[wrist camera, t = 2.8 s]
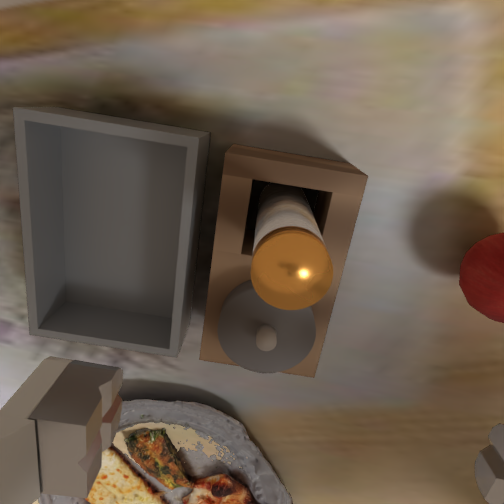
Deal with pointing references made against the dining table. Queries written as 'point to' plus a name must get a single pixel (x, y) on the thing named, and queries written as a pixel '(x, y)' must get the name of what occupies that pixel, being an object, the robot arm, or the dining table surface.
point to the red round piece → (485, 276)
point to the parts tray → (109, 226)
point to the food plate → (181, 462)
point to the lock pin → (288, 250)
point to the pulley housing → (240, 259)
